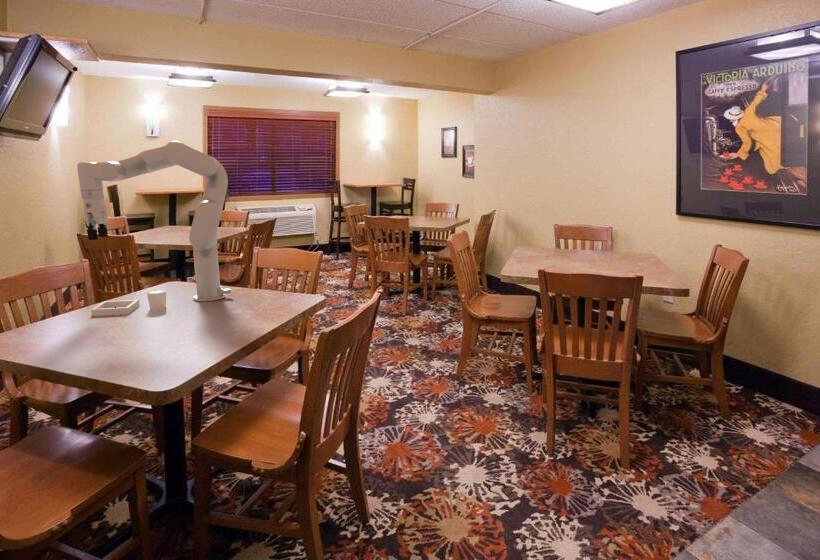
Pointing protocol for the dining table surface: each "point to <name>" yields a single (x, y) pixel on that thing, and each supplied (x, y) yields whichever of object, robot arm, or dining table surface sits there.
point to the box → (110, 309)
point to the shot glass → (157, 299)
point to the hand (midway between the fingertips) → (98, 238)
